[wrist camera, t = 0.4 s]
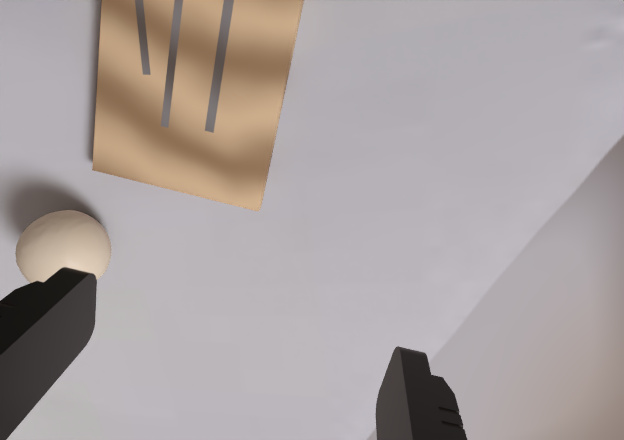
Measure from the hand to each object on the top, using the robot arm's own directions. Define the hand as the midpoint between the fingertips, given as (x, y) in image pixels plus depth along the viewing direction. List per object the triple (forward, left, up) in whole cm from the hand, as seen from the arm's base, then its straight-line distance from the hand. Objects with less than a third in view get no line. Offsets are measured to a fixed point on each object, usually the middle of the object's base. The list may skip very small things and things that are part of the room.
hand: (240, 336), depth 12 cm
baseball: (+14, -18, -27) cm, 35 cm away
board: (-5, -10, -26) cm, 29 cm away
